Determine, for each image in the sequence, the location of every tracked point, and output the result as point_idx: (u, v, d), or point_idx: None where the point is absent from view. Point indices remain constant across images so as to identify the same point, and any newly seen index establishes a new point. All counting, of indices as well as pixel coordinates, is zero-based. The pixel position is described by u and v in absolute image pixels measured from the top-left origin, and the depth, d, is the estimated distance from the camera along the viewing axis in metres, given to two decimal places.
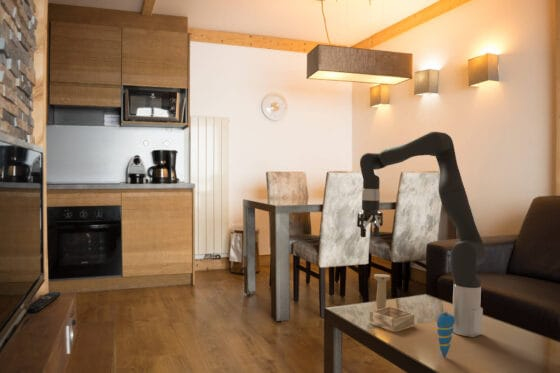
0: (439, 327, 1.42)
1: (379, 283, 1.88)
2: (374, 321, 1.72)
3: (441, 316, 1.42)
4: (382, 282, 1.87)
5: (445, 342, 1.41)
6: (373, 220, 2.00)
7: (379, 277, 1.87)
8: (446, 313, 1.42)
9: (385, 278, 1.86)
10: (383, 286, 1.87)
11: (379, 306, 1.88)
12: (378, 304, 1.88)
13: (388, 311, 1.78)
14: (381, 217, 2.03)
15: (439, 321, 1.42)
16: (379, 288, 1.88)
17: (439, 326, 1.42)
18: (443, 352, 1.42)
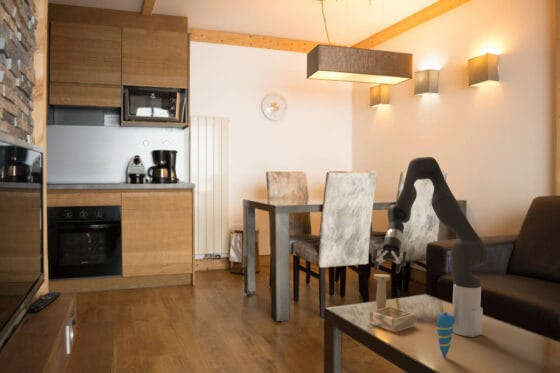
0: (439, 327, 1.42)
1: (379, 283, 1.88)
2: (374, 321, 1.72)
3: (441, 316, 1.42)
4: (382, 282, 1.87)
5: (445, 342, 1.41)
6: (390, 256, 1.99)
7: (379, 277, 1.87)
8: (446, 313, 1.42)
9: (385, 278, 1.86)
10: (383, 286, 1.87)
11: (379, 306, 1.88)
12: (378, 304, 1.88)
13: (388, 311, 1.78)
14: (403, 255, 1.97)
15: (439, 321, 1.42)
16: (379, 288, 1.88)
17: (439, 326, 1.42)
18: (443, 352, 1.42)
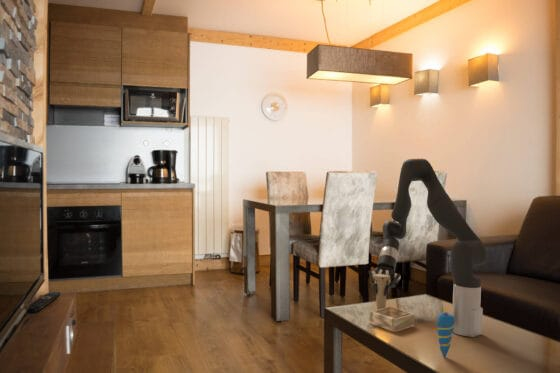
0: (439, 327, 1.42)
1: (379, 283, 1.88)
2: (374, 321, 1.72)
3: (441, 316, 1.42)
4: (382, 282, 1.87)
5: (445, 342, 1.41)
6: None
7: (379, 277, 1.87)
8: (446, 313, 1.42)
9: (385, 278, 1.86)
10: (383, 286, 1.87)
11: (379, 306, 1.88)
12: (378, 304, 1.88)
13: (388, 311, 1.78)
14: (396, 277, 1.89)
15: (439, 321, 1.42)
16: (379, 288, 1.88)
17: (439, 326, 1.42)
18: (443, 352, 1.42)
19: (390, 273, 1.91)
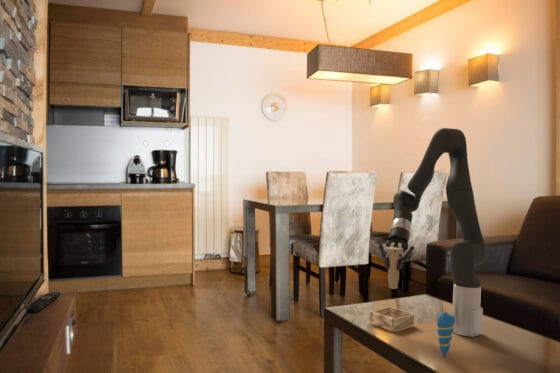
0: (439, 327, 1.42)
1: (391, 256, 1.71)
2: (374, 321, 1.72)
3: (441, 316, 1.42)
4: (394, 255, 1.71)
5: (445, 342, 1.41)
6: None
7: (391, 250, 1.70)
8: (446, 313, 1.42)
9: (398, 251, 1.70)
10: (396, 260, 1.71)
11: (391, 282, 1.71)
12: (390, 280, 1.71)
13: (388, 311, 1.78)
14: (409, 250, 1.72)
15: (439, 321, 1.42)
16: (391, 262, 1.71)
17: (439, 326, 1.42)
18: (443, 352, 1.42)
19: (403, 246, 1.75)
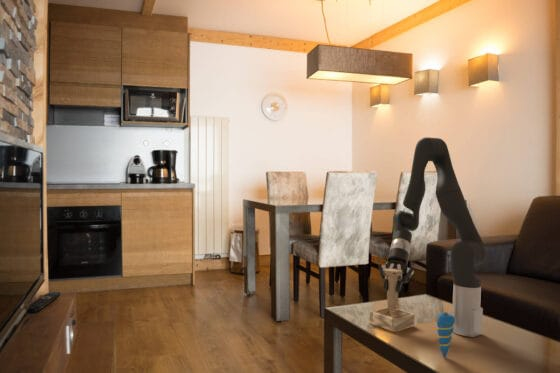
0: (439, 327, 1.42)
1: (390, 278, 1.71)
2: (374, 321, 1.72)
3: (441, 316, 1.42)
4: (394, 277, 1.71)
5: (445, 342, 1.41)
6: None
7: (390, 272, 1.70)
8: (446, 313, 1.42)
9: (397, 273, 1.70)
10: (395, 282, 1.71)
11: (390, 303, 1.71)
12: (389, 301, 1.72)
13: (388, 311, 1.78)
14: (409, 272, 1.73)
15: (439, 321, 1.42)
16: (390, 284, 1.71)
17: (439, 326, 1.42)
18: (443, 352, 1.42)
19: (402, 267, 1.75)
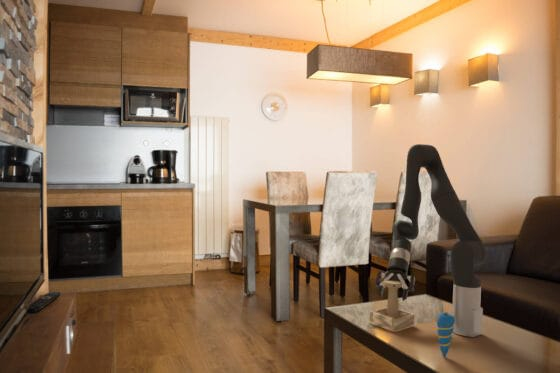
0: (439, 327, 1.42)
1: (390, 291, 1.72)
2: (374, 321, 1.72)
3: (441, 316, 1.42)
4: (393, 290, 1.71)
5: (445, 342, 1.41)
6: (396, 280, 1.75)
7: (390, 284, 1.70)
8: (446, 313, 1.42)
9: (397, 285, 1.70)
10: (395, 294, 1.71)
11: None
12: (389, 314, 1.72)
13: None
14: (411, 279, 1.73)
15: (439, 321, 1.42)
16: (390, 296, 1.71)
17: (439, 326, 1.42)
18: (443, 352, 1.42)
19: (402, 276, 1.75)
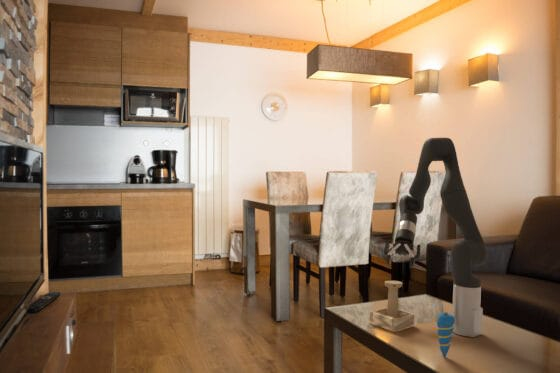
0: (439, 327, 1.42)
1: (390, 291, 1.72)
2: (374, 321, 1.72)
3: (441, 316, 1.42)
4: (394, 290, 1.71)
5: (445, 342, 1.41)
6: (404, 250, 1.86)
7: (390, 284, 1.71)
8: (446, 313, 1.42)
9: (397, 285, 1.70)
10: (395, 294, 1.71)
11: None
12: (389, 314, 1.72)
13: None
14: (418, 248, 1.84)
15: (439, 321, 1.42)
16: (390, 296, 1.72)
17: (439, 326, 1.42)
18: (443, 352, 1.42)
19: (409, 246, 1.86)
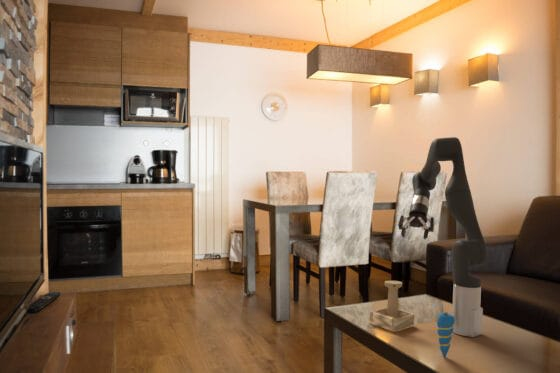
0: (439, 327, 1.42)
1: (390, 291, 1.72)
2: (374, 321, 1.72)
3: (441, 316, 1.42)
4: (394, 290, 1.71)
5: (445, 342, 1.41)
6: (418, 222, 1.94)
7: (390, 284, 1.71)
8: (446, 313, 1.42)
9: (397, 285, 1.70)
10: (395, 294, 1.71)
11: None
12: (389, 314, 1.72)
13: None
14: (431, 221, 1.92)
15: (439, 321, 1.42)
16: (390, 296, 1.72)
17: (439, 326, 1.42)
18: (443, 352, 1.42)
19: (423, 219, 1.95)
